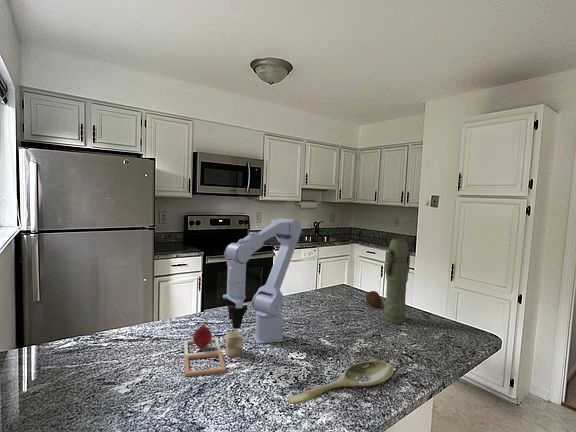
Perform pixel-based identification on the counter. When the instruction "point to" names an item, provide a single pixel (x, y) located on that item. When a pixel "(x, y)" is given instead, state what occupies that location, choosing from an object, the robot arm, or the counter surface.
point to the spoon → (351, 379)
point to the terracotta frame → (208, 371)
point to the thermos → (396, 280)
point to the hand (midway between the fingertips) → (234, 323)
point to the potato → (373, 299)
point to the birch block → (234, 343)
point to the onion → (202, 336)
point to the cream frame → (201, 352)
